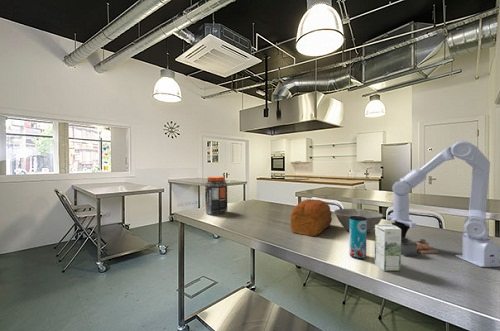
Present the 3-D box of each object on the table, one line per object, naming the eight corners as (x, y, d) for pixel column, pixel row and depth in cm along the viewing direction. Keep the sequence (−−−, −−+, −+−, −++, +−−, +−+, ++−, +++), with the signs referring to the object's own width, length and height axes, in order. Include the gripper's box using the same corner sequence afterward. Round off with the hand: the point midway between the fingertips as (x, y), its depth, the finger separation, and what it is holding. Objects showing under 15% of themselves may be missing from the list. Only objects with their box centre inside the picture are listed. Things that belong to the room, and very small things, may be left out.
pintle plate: (438, 253, 93) (438, 251, 93) (421, 253, 92) (421, 251, 92) (424, 246, 100) (424, 244, 99) (408, 247, 99) (408, 245, 99)
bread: (333, 225, 134) (333, 197, 134) (318, 237, 112) (318, 205, 112) (306, 221, 143) (306, 195, 143) (287, 232, 121) (287, 202, 121)
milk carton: (390, 263, 83) (390, 223, 83) (401, 271, 77) (401, 228, 77) (374, 264, 83) (374, 223, 83) (384, 272, 77) (384, 228, 77)
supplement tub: (212, 210, 178) (212, 176, 177) (231, 211, 171) (231, 176, 171) (200, 214, 163) (200, 177, 163) (220, 216, 157) (220, 177, 156)
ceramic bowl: (390, 239, 109) (390, 218, 108) (338, 236, 113) (338, 216, 113) (374, 226, 130) (374, 209, 130) (331, 224, 135) (331, 207, 135)
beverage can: (356, 260, 86) (357, 220, 86) (346, 254, 92) (346, 216, 91) (370, 258, 88) (370, 218, 87) (358, 252, 93) (358, 215, 93)
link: (424, 245, 98) (424, 238, 98) (431, 249, 94) (431, 241, 94) (391, 245, 98) (391, 238, 98) (397, 249, 94) (397, 241, 94)
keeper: (416, 255, 90) (416, 242, 90) (404, 256, 90) (404, 243, 90) (402, 248, 98) (402, 236, 98) (391, 248, 97) (391, 236, 97)
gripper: (381, 205, 108) (381, 234, 109) (404, 212, 94) (404, 246, 94) (396, 205, 109) (395, 234, 109) (421, 212, 95) (420, 245, 95)
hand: (400, 239), depth 102 cm, fingers closed
